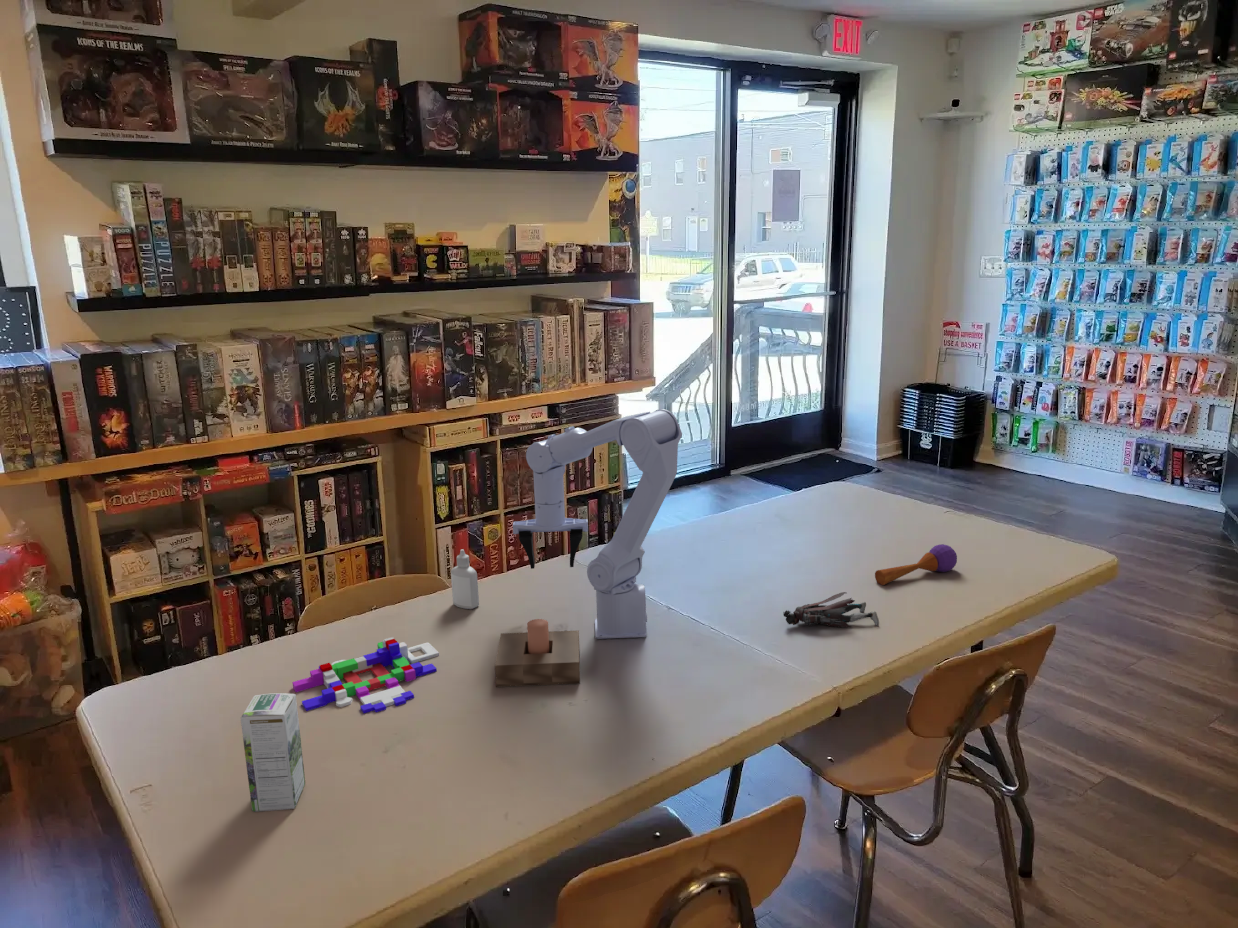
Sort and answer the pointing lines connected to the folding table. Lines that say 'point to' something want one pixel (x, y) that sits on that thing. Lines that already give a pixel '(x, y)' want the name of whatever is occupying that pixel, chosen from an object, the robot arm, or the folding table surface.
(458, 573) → the eye dropper bottle
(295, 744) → the syrup box
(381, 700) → the building block set
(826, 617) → the action figure
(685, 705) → the folding table surface
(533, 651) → the pin
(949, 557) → the purple and brown maraca
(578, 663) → the socket block
